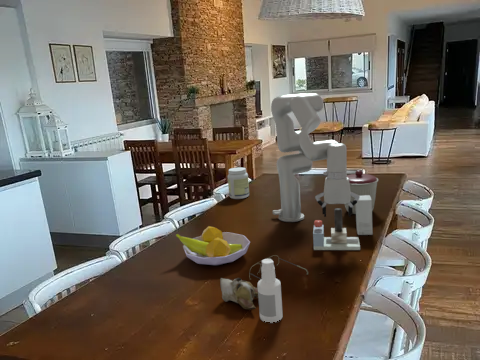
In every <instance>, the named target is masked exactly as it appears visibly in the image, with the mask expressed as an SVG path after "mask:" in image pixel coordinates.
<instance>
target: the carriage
mask: <svg viewBox="0 0 480 360" xmlns="http://www.w3.org/2000/svg"><path fill="white" fill-rule="evenodd" d="M333 210H334V212H333V213H334V215H333V216H334V227H331V228H330V237H331V243H347V237H348V232H347V227H343V209H342V208H340V207H339V208H338V207H337V208H334V209H333Z"/></svg>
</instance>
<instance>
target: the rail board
mask: <svg viewBox="0 0 480 360" xmlns="http://www.w3.org/2000/svg"><path fill="white" fill-rule="evenodd" d="M324 230H325V228H324V224H322V227H315V226H314V225H313V231H312V238H313V243H312V244H313V251H361V245H360V244H361V243H360V239H359V236H347V243H331V236H325V231H324Z"/></svg>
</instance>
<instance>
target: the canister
mask: <svg viewBox="0 0 480 360" xmlns="http://www.w3.org/2000/svg"><path fill="white" fill-rule="evenodd" d="M347 177H348V178H349V183H350V191H351V192H353V193H355V194H357V195H359V196H364V195H370V197H371V200H372V211H373V210H374V207H375V204H376V203H375V201H376V195H377V194H376V193H377V186H378V182H379V178H378V177H376V176H375V175H373V174H369V173H368V174H367V173H363V171H362V170H361V169H357V170H356V171H355V173H351V174H347ZM354 199H355V197H353V196H351V195H350V201H351V202H352V201H353V200H354ZM348 206H349V205H348V204H344V208H345V210H346V211H347V212H348V213H349V211H348ZM351 215H356V204H355V205H354V206H353V207H352V214H351Z"/></svg>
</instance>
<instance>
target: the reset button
mask: <svg viewBox="0 0 480 360" xmlns="http://www.w3.org/2000/svg"><path fill="white" fill-rule="evenodd" d="M322 225H323V220H320V219H315V220H314V222H313V227H314V226H315V227H322Z"/></svg>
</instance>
